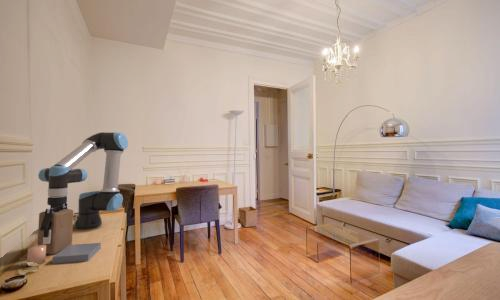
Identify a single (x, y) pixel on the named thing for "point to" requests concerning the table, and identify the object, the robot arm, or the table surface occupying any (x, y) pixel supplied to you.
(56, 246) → the wooden block
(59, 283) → the table surface
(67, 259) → the slate plinth
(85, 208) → the robot arm
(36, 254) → the reddish brown block
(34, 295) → the table surface
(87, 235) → the table surface
